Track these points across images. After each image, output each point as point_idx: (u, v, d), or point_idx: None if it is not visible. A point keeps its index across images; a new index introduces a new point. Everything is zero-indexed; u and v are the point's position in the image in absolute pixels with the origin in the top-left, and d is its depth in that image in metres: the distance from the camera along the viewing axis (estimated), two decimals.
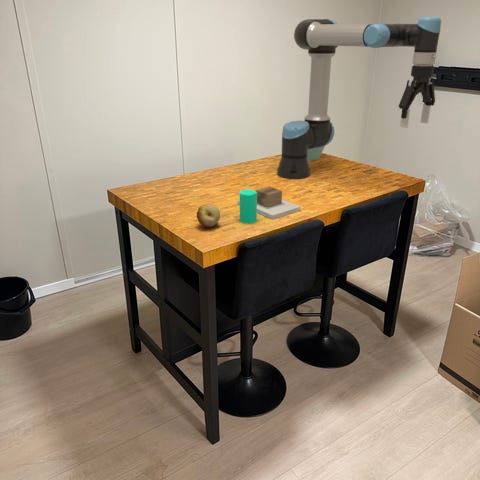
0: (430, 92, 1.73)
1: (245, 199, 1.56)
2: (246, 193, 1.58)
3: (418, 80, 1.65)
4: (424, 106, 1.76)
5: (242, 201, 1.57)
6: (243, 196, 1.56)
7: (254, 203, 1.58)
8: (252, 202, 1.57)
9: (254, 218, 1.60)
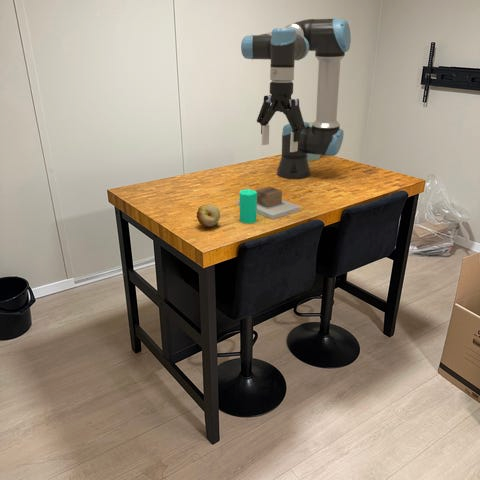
0: None
1: (245, 199, 1.56)
2: (246, 193, 1.58)
3: (271, 96, 1.50)
4: None
5: (242, 201, 1.57)
6: (243, 196, 1.56)
7: (254, 203, 1.58)
8: (252, 202, 1.57)
9: (254, 218, 1.60)
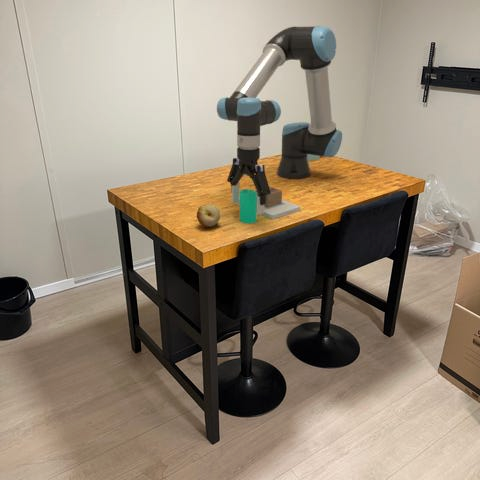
0: None
1: (245, 199, 1.56)
2: (246, 193, 1.58)
3: (239, 160, 1.56)
4: None
5: (242, 201, 1.57)
6: (243, 196, 1.56)
7: (254, 203, 1.58)
8: (252, 202, 1.57)
9: (254, 218, 1.60)
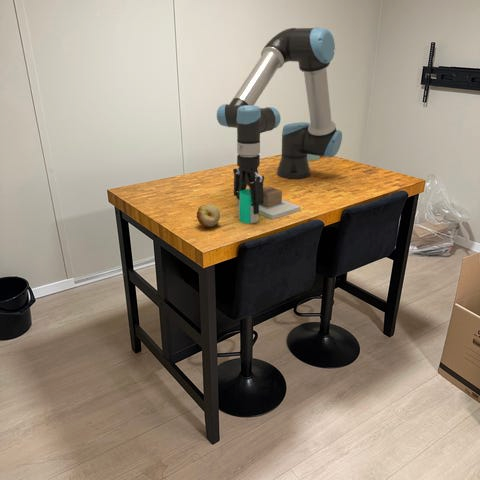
0: None
1: (245, 199, 1.56)
2: (246, 193, 1.58)
3: (239, 167, 1.57)
4: None
5: (242, 201, 1.57)
6: (243, 196, 1.56)
7: None
8: None
9: None
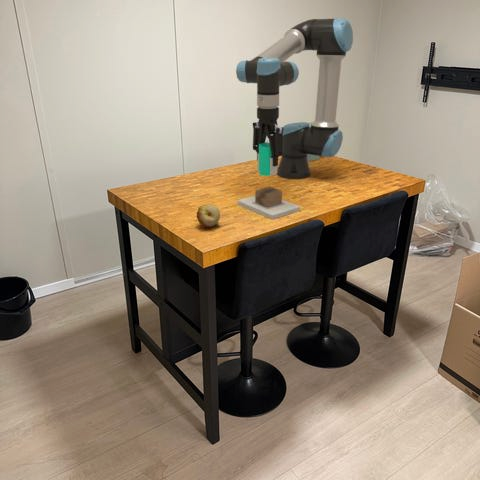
0: None
1: (264, 151, 1.61)
2: (265, 146, 1.63)
3: None
4: None
5: (261, 153, 1.62)
6: (262, 148, 1.61)
7: None
8: (271, 154, 1.62)
9: None
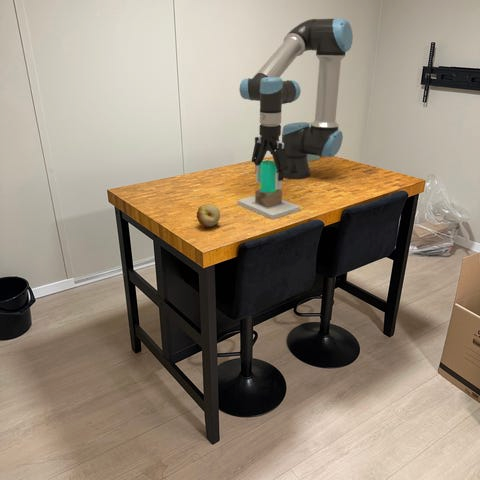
0: None
1: (266, 169, 1.65)
2: (267, 164, 1.67)
3: (261, 137, 1.65)
4: None
5: (263, 171, 1.66)
6: (264, 166, 1.65)
7: (275, 173, 1.67)
8: (273, 172, 1.66)
9: (274, 188, 1.69)
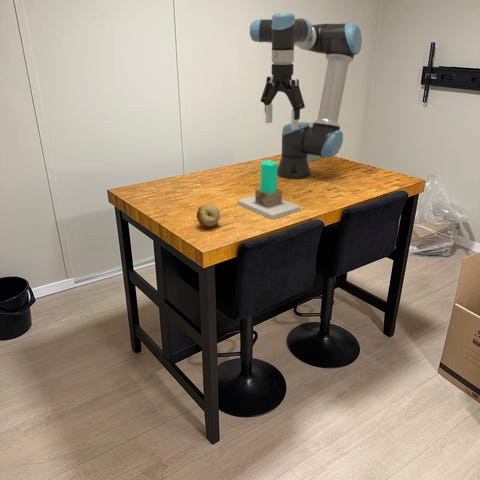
0: None
1: (266, 169, 1.65)
2: (267, 164, 1.67)
3: (273, 77, 1.62)
4: None
5: (263, 171, 1.66)
6: (264, 166, 1.65)
7: (275, 173, 1.67)
8: (273, 172, 1.66)
9: (274, 188, 1.69)
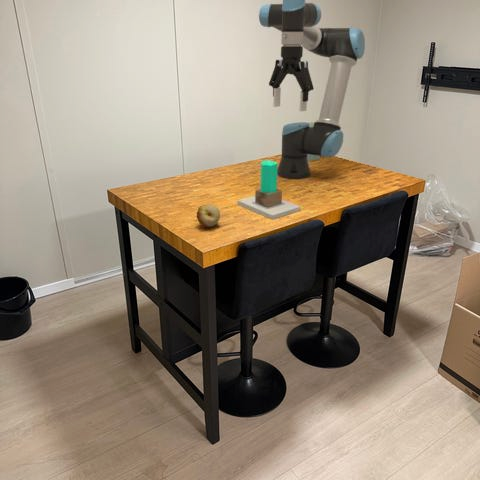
0: None
1: (266, 169, 1.65)
2: (267, 164, 1.67)
3: (282, 60, 1.63)
4: None
5: (263, 171, 1.66)
6: (264, 166, 1.65)
7: (275, 173, 1.67)
8: (273, 172, 1.66)
9: (274, 188, 1.69)
